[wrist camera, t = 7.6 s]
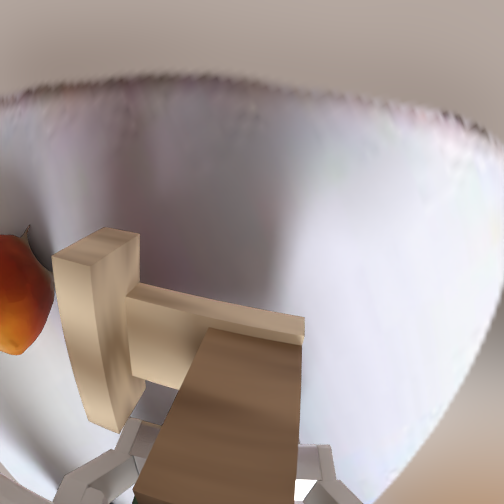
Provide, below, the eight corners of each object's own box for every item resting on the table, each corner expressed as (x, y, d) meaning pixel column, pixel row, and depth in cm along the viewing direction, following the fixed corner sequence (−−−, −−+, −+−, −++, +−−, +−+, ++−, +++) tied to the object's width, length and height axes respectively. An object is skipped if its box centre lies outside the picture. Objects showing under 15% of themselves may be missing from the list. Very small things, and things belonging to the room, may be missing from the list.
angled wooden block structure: (273, 419, 17) (251, 565, 8) (117, 378, 17) (43, 490, 8) (317, 267, 13) (334, 476, 4) (104, 226, 14) (-56, 324, 5)
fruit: (90, 278, 16) (1, 374, 11) (72, 303, 22) (11, 371, 16) (14, 180, 14) (-79, 258, 9) (13, 230, 20) (-52, 291, 15)
